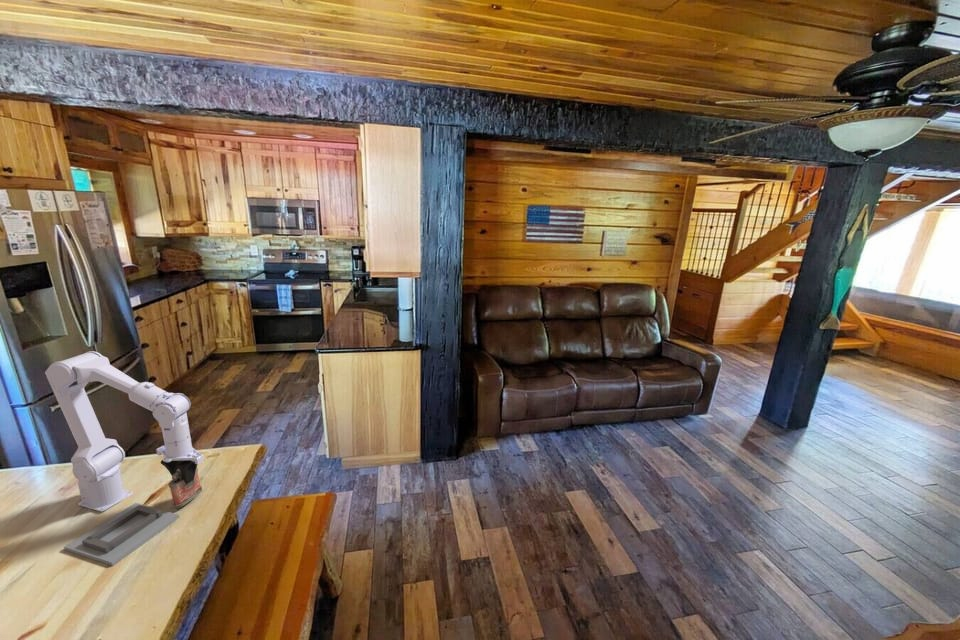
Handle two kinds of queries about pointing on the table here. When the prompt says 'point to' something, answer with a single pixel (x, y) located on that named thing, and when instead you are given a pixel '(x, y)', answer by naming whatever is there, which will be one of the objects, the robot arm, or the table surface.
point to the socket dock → (122, 534)
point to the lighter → (184, 489)
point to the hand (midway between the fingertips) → (184, 480)
